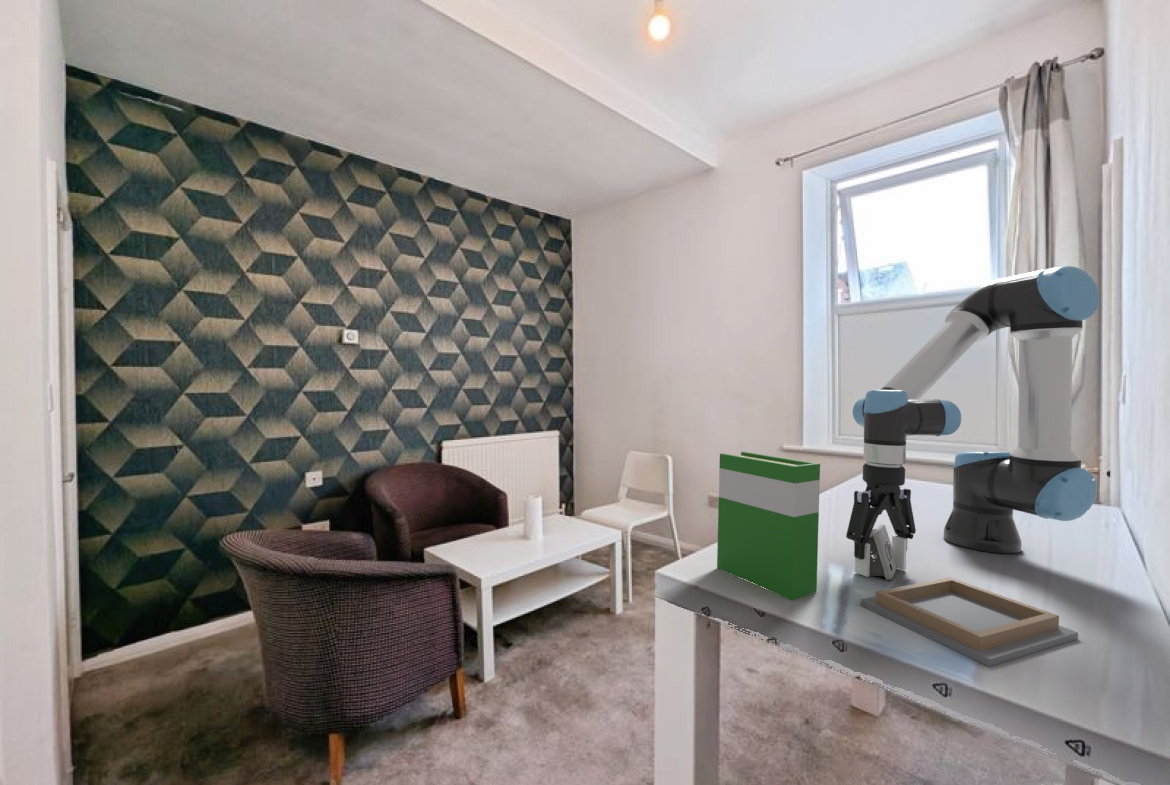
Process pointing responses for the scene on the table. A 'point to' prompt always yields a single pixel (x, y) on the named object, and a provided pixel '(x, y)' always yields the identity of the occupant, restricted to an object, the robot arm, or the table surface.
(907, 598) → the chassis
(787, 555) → the green open box
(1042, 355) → the robot arm
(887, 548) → the electrical switch
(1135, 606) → the table surface
